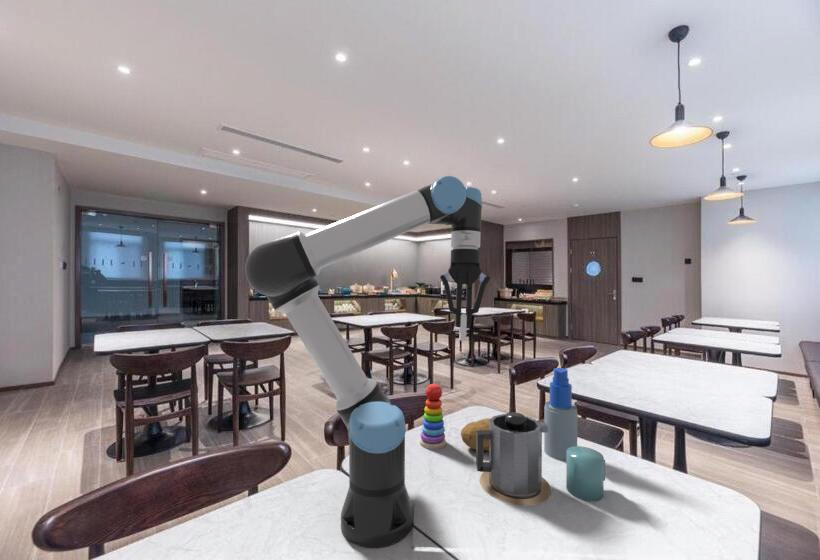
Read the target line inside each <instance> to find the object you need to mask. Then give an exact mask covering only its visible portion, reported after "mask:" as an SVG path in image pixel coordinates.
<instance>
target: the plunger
mask: <svg viewBox="0 0 820 560" xmlns="http://www.w3.org/2000/svg"><path fill="white" fill-rule="evenodd" d="M505 414H506V427H507V428H508V429H510V430H513V432H517V431H520V430H523V429H524V416H525V415H524V414H522V413H520V412H516V411H514V412H513V411H512V412H507V413H505Z"/></svg>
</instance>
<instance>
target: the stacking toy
mask: <svg viewBox="0 0 820 560" xmlns="http://www.w3.org/2000/svg"><path fill="white" fill-rule="evenodd" d="M442 389H443V388H442V387H441V386H440V385H439V384H437V383H431V384H429V385H427V386H426V389H425V395H426V398H427V399H426V401H425V407H424V409H423V411H424V414H423V421H422V425H423V426H422V428H421V432H420V441H419V445H420V446H421V447H422V448H425V449H427V450H440V449H442V448H443V449H444V447H446V444H447V441H446V440H447V439H446V434H445V431H446V429H445V426H444V425H445V421H444V414H443V407H442V404H443V402H442V400H441V399H440V398H442V396H443V390H442Z"/></svg>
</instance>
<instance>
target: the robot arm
mask: <svg viewBox="0 0 820 560" xmlns="http://www.w3.org/2000/svg"><path fill="white" fill-rule="evenodd" d="M482 200H483V198H482V192H481V190H480V189H479V188H478V187H477V188H476V187H472V186H465V184H464V183H463V181H461V180H460V179H459V178H458V177H456V176H453V175H446V176H445V175H444V176H442V177H440V178H438V179H436V180H435V181H434V182H432V183H431V184H429V185H426V186H423V187H421V188H419V189H417V190H413V191H411V192H408V193H406V194H403V195H401V196H398V197H396V198H393V199H391V200H389V201H385V202H383V203H381V204H378V205H375V206H373V207H371V208H368V209H366V210H363V211H361V212H358V213H356V214H354V215H351V216H348V217H346V218H344V219H341V220H338V221H336V222H333V223H330V224H328V225H326V226H323V227H321V228H319V229H316V230H313V231H310V232H308V233H303V232H301V231H296V232H294V233H292V234H289V235H287V236H282V237H279V238H277V239H273V240H270V241H267V242H264V243H262V244H259V245H258V246H256V247H255V248H254V249H252V251H251V252H249V254H248V255H247V258H246V261H245V265H244V274H245V278H246V281H247V282H248V284H249V285H250V287H252V289H253V290H254V291H256V292H257V293H258V294H261V295H264V296H265V297H266V298H267V300H268V302H269V303H270V305H271V306H272V308H273V309H274V311H275V312H277V313H282V314H284V315H285V316H286V318H287V319H288V321H289V322H290V324H291V325H292V327H293V329H294V331H295V332H296V334H297V335H298V337H299V338H300V341H301V342H302V343H303V346H304V347H305V349H306V350H307V352H308V354H309V355H310V357H311V358H312V360H313V361H314V363H315V365H316V366H317V368H318V370H319V371H320V374H321V375H322V376H323V378H324V379H325V381H326V382H327V384H328V386H329V388H330V390H331V391H332V393H333V394H334V396H335V397H336V400H335V405H334V408H335V411H336V412H337V413H338V415H339V417H340V418H341V420H342V421H343V423H344V425H345V426H346V429H347V435H348V447H349V448H348V452H349V455H348V456H349V462H348V463H349V465H348V468H349V471H348V473H349V474H348V477H349V479H348V480H349V481H348V482H349V487H348V489H347V491H346V496H345V499H344V502H343V505H342V509H341V511H340V513H341V514H340V530H341V533H342V534H343V535H344V536H343V537H345V538H346V539H347V540H348V541H349V542H351V543H353V544H354V545H358V546H361V547H365V548H382V547H386V546H390V545H393V544H396V543H398V542H400V541H402V540H403V539H404V538H405V537H406V536H408V535H409V533H410V532H411V530H412V528H413V524H414V509H413V505H412V502H411V499H410V495H409V493H408V489H407V487H406V484H405V482H406V481H405V480H406V479H405V477H406V473H405V468H406V464H405V463H406V458H405V457H406V451H405V450H406V447H405V446H406V430H407V429H406V428H407V427H406V421H405V416H404V412H403V411H402V409H400V408H399V407H398V406H397V405H395V404H392V402H391V400H390V399H389V398H388V396H387V395H386V394H385V393H384V391H383V390H382V388H381V386H380V385H379V382H377V380H376V379H374V378H368V377H367V375H366V373H365V372H364V370H363V369H362V367H361V365H360V363H359V362H358V360H357V359H356V357H355V355H354V354H353V352H352V350H351V349H350V347H349V345H348V343H347V342H346V340H345V338H344V336H343V335H342V334H341V332H340V330H339V329H338V327H337V325H336V324H335V322H334V320H333V318H332V317H331V315H330V314H329V312H328V310H327V308H326V307H325V305H324V303H323V302H322V299H320V297H319V291H320V284H319V282H318V281H317V279H316V277H317V276H318V275H320V272H321V270H322V269H323V268H326V267H328V266H330V265H332V264H334V263H337V262H340V261H343V260H345V259H346V258H349V257H352V256H354V255H356V254H359V253H361V252H363V251H366V250H368V249H370V248H372V247H375V246H378V245H380V244H383V243H385V242H387V241H389V240H391V239H394V238H396V237H399V236H401V235H403V234H406V233H408V232H411V231H413V230H416V229H417V228H420V227H423V226H425V225H427V224H428V225H445V226H451V229H450V230H451V238H450V239H451V240H450V247H451V248H452V249H451V250H450V262H449V263H450V265H449V268H448V269H447V270H448V271H447V272H445V273H444V274H441V275H440V278H439V279H440V280H441V282H442V283H443V287H444V291H445V297H446V301H447V307H448V310H449V312H451V313H453V314H455V326H456V328H459V338H458V339H459V341H461V342H462V341H463V342H466V341H467V328H471V326H472V315H474V314H478V313H479V311H480V306H481V303H482V299H483V296H484V293H485V289H486V286H487V284H488V282H489V281H490V279H491V278H490V276H487V275H486V274H484V273H483V271H482V268H481V264H480V263H481V251H480V249H479V248H481V230H482V229H481V228H482V227H481V225H482V209H483V202H482ZM450 277H451V278H450ZM450 279H452V280H453V282H454V283H455V284H456V296H455V297H456V299H455V307H454V302H453V297H452V294H451V293H452V292H451V288H450V284H449V281H450ZM477 280H479V286H478V288H477V292H476V297H475V300H474V304H472V303H473V284H475V282H476V281H477ZM463 285H465V286H466V287H465V289H466V295H465V313H462V297H463V295H462V293H463ZM472 305H473V306H472Z"/></svg>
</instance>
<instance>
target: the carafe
mask: <svg viewBox="0 0 820 560" xmlns="http://www.w3.org/2000/svg"><path fill="white" fill-rule="evenodd" d="M506 414H507V413H503V414H498V415H497V414H496V415H493V416H492V417H491V419H490V420H489V430H479V431H477V430H476V450H475V454H476V455H475V457H476V458H475V467H476V470H477V471H476V472H481V473H484V472H489V483H490V486H491V487H492V488H493V489H494V490H495V491H496V492H498V493H500V494H502V495H504V496H507V497H510V498H515V499H530V498H533V497H536V496H537V495H539V494H540V492H541V485H542V477H543V471H542V469H543V464H542V463H543V459H542V458H543V454H542V453H543V434H544V433H548V426H547V424H546V423H545V422H544V421H538V420H535V419H534V418H532V417H529V416H527V415H526V416H525V415H524V429H523V430H520V431H517V432H513V430H510V429H508V428H507V427H506ZM483 439H489V451H488V461H484V450H483Z"/></svg>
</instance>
